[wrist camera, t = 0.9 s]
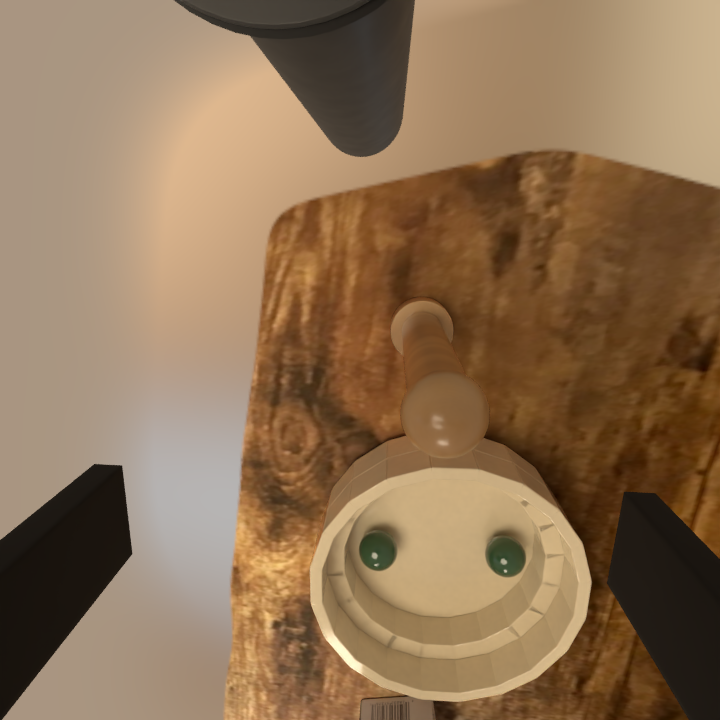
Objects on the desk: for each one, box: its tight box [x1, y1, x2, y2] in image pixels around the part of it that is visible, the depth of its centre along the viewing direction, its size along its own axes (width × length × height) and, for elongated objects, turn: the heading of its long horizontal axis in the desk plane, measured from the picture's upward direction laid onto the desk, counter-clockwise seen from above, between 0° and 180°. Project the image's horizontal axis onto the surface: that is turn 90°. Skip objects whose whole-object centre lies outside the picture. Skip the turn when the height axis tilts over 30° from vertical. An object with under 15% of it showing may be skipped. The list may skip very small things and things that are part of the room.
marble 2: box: [485, 535, 526, 578], centre depth 35 cm, size 3×3×3 cm
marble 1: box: [359, 530, 398, 571], centre depth 35 cm, size 3×3×3 cm
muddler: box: [391, 297, 490, 458], centre depth 25 cm, size 4×4×17 cm
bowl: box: [310, 436, 592, 702], centre depth 34 cm, size 18×18×6 cm
